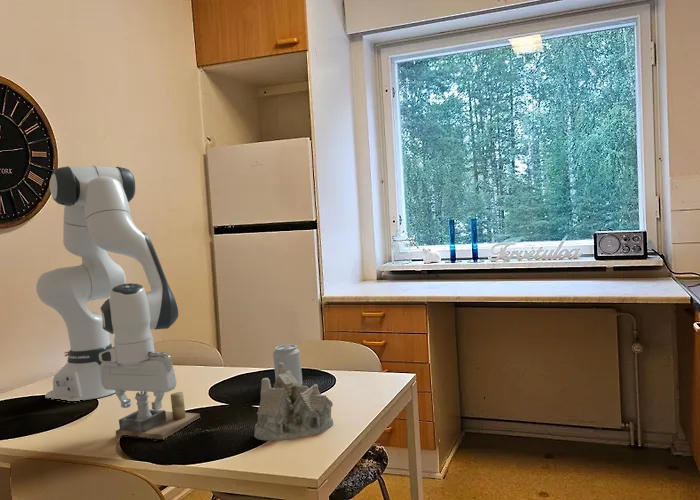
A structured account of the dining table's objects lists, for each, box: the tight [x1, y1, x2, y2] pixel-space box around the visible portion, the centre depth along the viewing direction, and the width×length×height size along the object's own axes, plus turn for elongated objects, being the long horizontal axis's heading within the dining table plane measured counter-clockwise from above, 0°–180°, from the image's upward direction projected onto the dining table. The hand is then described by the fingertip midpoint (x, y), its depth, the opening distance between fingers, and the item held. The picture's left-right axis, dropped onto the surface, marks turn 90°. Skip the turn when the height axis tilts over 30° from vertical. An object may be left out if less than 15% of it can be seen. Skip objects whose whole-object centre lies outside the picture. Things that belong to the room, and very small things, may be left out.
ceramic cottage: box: [253, 362, 335, 442], centre depth 143 cm, size 16×16×15 cm
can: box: [272, 343, 303, 386], centre depth 176 cm, size 8×8×12 cm
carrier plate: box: [115, 391, 201, 440], centre depth 151 cm, size 14×14×8 cm
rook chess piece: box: [134, 391, 152, 420], centre depth 150 cm, size 4×4×8 cm
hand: (141, 408), depth 150 cm, fingers open, 8 cm apart
